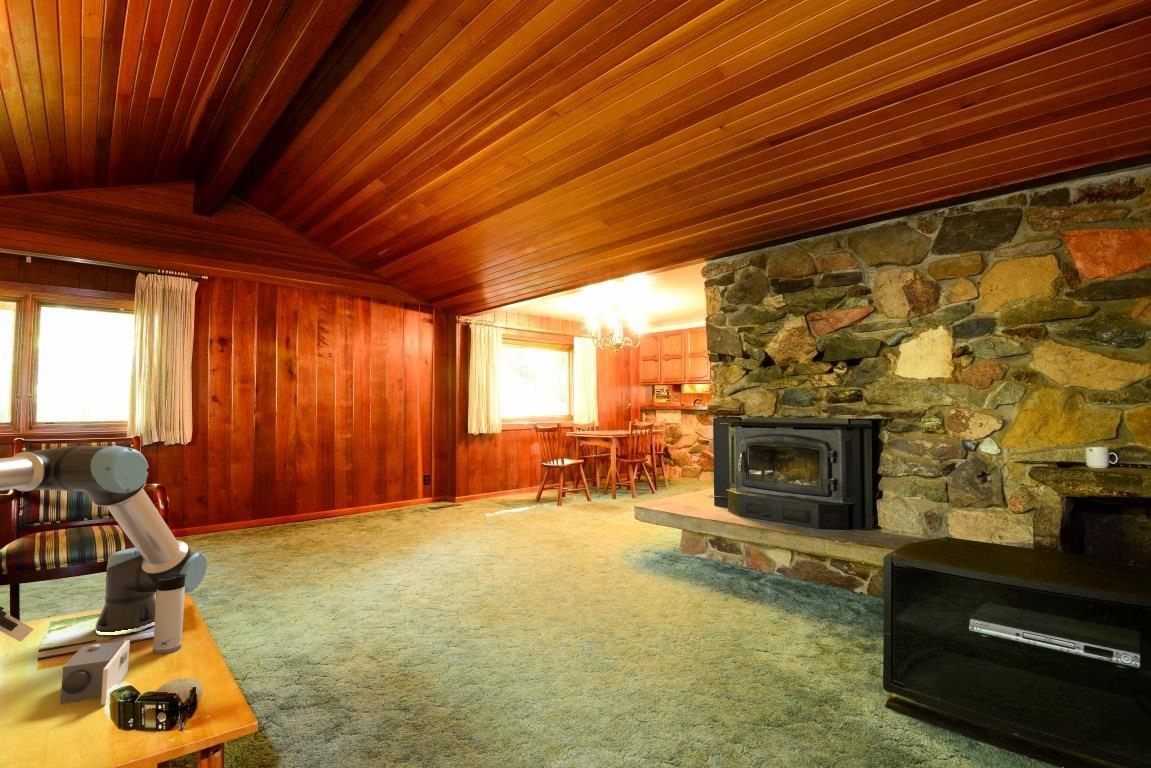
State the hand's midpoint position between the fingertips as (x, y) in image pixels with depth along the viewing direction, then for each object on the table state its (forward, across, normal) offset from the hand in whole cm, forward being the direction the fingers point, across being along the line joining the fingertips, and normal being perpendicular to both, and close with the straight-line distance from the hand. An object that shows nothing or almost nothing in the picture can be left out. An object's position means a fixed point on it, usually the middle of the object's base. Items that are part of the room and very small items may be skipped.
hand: (25, 634), depth 112 cm
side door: (+25, -2, 0) cm, 25 cm away
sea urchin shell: (+28, +17, +2) cm, 33 cm away
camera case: (+24, -7, -2) cm, 25 cm away
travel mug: (+38, -15, +12) cm, 42 cm away
